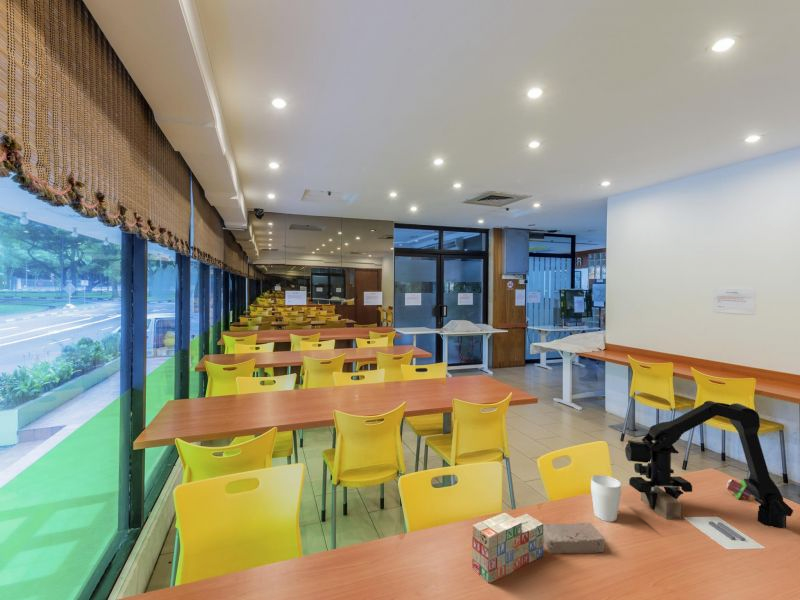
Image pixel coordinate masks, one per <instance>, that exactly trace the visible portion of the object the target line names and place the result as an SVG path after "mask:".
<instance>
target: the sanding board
mask: <svg viewBox="0 0 800 600" xmlns="http://www.w3.org/2000/svg"><path fill="white" fill-rule="evenodd" d="M682 518H683V519H684V520H686V521H687V522H688V523H689V524H691V525H692V526H694V527H695V528H696V529H698V530H700V531H701V533H704V535H706V536H708V537H709V538H710V539H712V540H713V541H715V542H716V543H717V544H719V545H720V546H721V547H723V548H724V549H726V550H751V549H752V550H755V549H756V550H758V549H764V550H765V549H766V547H765V546H763V545H762V544H760V543H759V542H757V541H755V540H754V539H753V538H751V537H750V536H748V535H747V534H745V533H743V532H741V531H740V530H738V529H737V528H736V527H734V526H732V525H731V524H729V523H728V522H726V521H724V520H723V519H722V518H720V517H719V516H686V517H685V516H682ZM709 522H714V523H715V524H717V523H718V522H721V523H723V524H724V525H726V526H727V527H729V528H730V529H732V530H733V531H735V532H736V533H738V534H740V535H741V536H743V537H744V538H745V541H741V540H739V539H738V538H736V539H735V540H731V539H730V538H728V537H727V536H725V535H724V534H722V533H721V532H719V531H718V530H716V529H715V528H714V527H712V526H711V525H709ZM725 531H726V530H725ZM728 533H729V532H728ZM731 535H732V534H731ZM734 537H735V536H734Z"/></svg>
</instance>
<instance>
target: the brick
mask: <svg viewBox="0 0 800 600" xmlns="http://www.w3.org/2000/svg"><path fill="white" fill-rule="evenodd" d="M543 535H544V545H543V546H545V547H544V548H545V549H546V550H547V552H548V553H549V554H582V553H583V554H594V553H595V554H597V553H603V552H604V551H605V549H606V539H605V537H604V536H603V535H602V533H601V532H600V531H599V530H598V529H597V528H596V527H595V526H594V525H593V524H592V523H591V522H575V523H554V522H553V523H543Z"/></svg>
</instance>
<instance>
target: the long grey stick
mask: <svg viewBox="0 0 800 600" xmlns="http://www.w3.org/2000/svg"><path fill="white" fill-rule="evenodd" d="M717 525H718V526H720V527H721V528H723V529H724V530H726V531H727V532H729V533H730V534H732V535H733V536H735V537H736V538H738V539H739V540H741V541H745V538H744V537H743V536H741V535H740V534H738V533H736V532H735V531H733V530H732V529H730V528H729V527H727V526H726V525H724V524H723V523H721V522H718V523H717Z"/></svg>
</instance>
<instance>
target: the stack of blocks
mask: <svg viewBox="0 0 800 600" xmlns="http://www.w3.org/2000/svg"><path fill="white" fill-rule="evenodd" d="M543 524H544V523H543V522H541V521H540V520H538V519H536V518H534V517H533V516H531V515H529V514H528V513H525V514H522V515H520V516H517V517H513V516H511V515H510V514H509V513H507V512H502V513H499V514H498V515H495V516H493V517H490V518H488V519H486V520H482V521H479V522H477V523H475V524H473V525H472V538H471V539H472V541H471V542H472V545H471V546H472V558H471V559H472V560H471V561H472V562H471V563H472V566H471V568H473V569H474V570H475V571H476V572H477V573H478V574H477V573H476V572H475V571H474V570H473V569H472V570H473V571H474V572H475V573H476V574H477V575H478V576H480V575H481V576H482V577H483V578H484V579H485V580H486V581H487V582H490V583H492V582H494V581H496V580H499V579H501V578H503V577H505V576H507V575H510V573H513V572H514V571H516V570H518V569H520V568H521V567H523V566H526V565H527V564H529V563H532V562H534V561H535V560H537V559H540V558H541V557H543V556H544V546H545V545H544V535H543ZM481 576H480V577H481ZM482 577H481V578H482ZM483 578H482V579H483ZM484 579H483V580H484ZM485 580H484V581H485ZM493 580H494V581H493ZM486 581H485V582H486ZM491 581H492V582H491ZM487 582H486V583H487Z"/></svg>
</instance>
